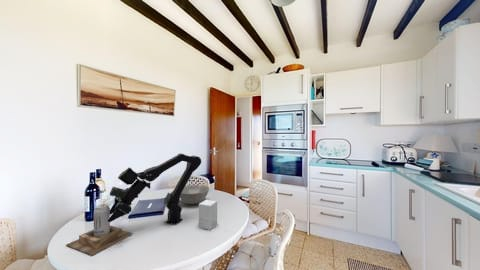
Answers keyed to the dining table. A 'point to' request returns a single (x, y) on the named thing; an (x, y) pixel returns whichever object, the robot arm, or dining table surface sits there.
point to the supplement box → (207, 214)
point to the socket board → (94, 251)
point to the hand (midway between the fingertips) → (108, 217)
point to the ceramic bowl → (194, 194)
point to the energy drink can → (101, 220)
